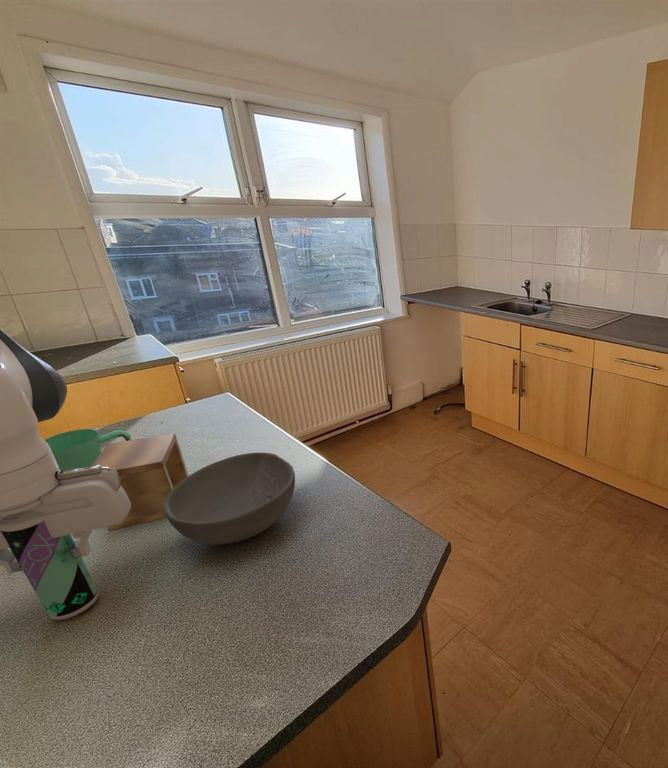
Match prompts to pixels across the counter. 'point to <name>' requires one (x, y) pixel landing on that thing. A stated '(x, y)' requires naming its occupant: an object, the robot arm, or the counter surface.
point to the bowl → (231, 498)
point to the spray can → (49, 565)
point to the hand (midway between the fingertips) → (51, 561)
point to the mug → (80, 447)
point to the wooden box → (145, 474)
